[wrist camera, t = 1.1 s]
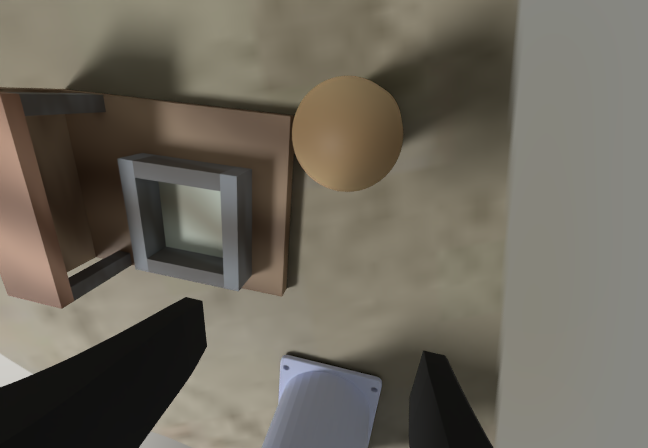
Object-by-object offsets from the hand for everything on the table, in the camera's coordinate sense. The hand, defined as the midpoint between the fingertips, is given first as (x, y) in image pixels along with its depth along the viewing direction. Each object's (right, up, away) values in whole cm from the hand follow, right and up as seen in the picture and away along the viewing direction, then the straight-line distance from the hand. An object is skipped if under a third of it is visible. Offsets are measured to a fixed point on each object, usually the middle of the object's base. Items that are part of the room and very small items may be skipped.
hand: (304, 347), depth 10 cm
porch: (-9, +6, +12) cm, 16 cm away
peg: (+3, +10, +7) cm, 12 cm away
